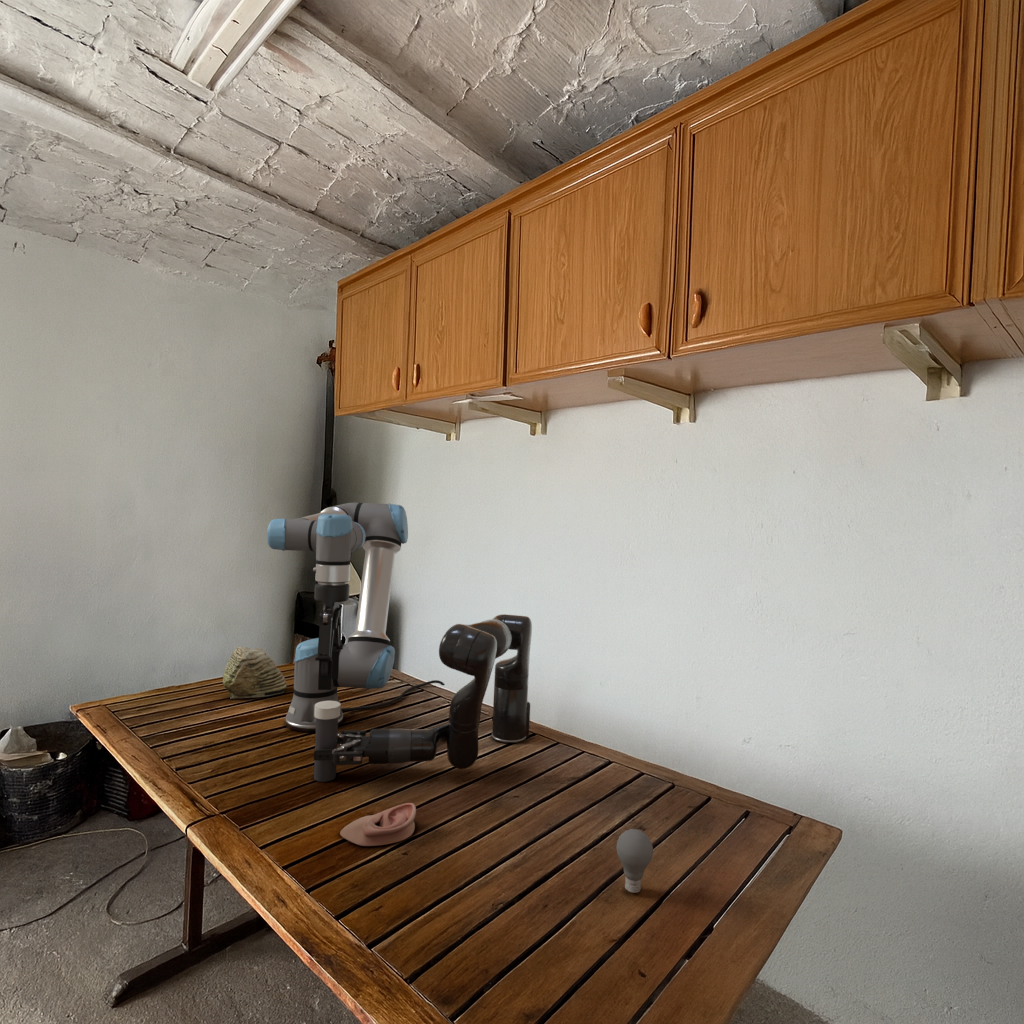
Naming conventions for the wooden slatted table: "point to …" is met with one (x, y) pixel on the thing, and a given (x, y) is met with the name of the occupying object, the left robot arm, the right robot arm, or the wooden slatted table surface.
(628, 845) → the light bulb
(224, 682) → the fossil
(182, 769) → the wooden slatted table surface
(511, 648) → the right robot arm
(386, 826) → the anatomical model
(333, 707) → the lid
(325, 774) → the gray bottle
